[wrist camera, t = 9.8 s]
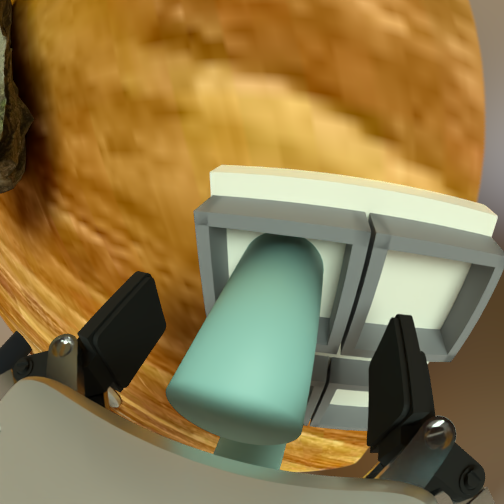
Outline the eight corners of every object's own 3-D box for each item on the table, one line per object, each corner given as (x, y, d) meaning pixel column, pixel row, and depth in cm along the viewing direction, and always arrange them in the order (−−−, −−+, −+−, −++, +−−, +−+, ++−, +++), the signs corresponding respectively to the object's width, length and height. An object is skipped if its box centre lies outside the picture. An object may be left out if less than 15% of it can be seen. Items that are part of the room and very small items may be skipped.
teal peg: (329, 236, 12) (314, 402, 5) (317, 305, 14) (291, 452, 7) (242, 226, 13) (149, 361, 6) (243, 293, 15) (181, 424, 8)
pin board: (388, 400, 19) (383, 497, 11) (234, 379, 22) (196, 472, 14) (484, 205, 10) (591, 331, 2) (221, 165, 13) (72, 268, 5)
